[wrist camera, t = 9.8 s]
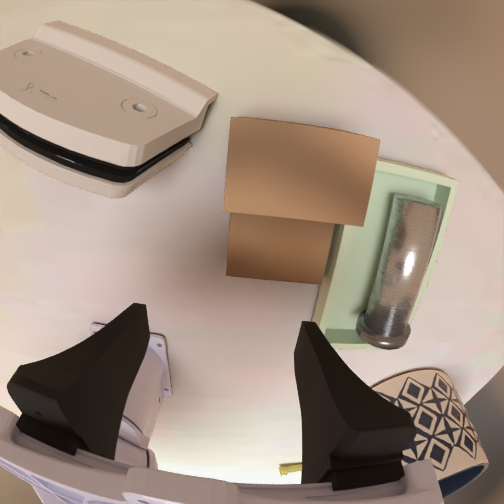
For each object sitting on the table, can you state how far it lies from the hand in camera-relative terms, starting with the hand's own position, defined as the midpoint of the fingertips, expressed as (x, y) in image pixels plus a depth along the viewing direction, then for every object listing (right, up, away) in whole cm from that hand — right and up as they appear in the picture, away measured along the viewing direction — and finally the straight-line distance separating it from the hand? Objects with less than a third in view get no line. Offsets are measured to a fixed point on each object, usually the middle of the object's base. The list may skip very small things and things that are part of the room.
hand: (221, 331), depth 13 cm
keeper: (+4, +7, +8) cm, 11 cm away
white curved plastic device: (-10, +15, +4) cm, 19 cm away
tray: (+11, +3, +9) cm, 15 cm away
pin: (+11, +3, +9) cm, 14 cm away
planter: (+20, -16, +19) cm, 32 cm away
